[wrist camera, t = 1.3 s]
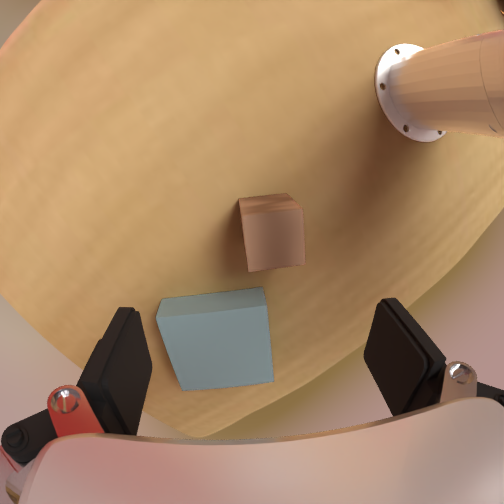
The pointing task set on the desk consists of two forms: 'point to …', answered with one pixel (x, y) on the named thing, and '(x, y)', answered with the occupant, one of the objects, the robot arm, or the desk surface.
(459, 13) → the desk surface
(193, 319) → the plinth
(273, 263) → the walnut block
